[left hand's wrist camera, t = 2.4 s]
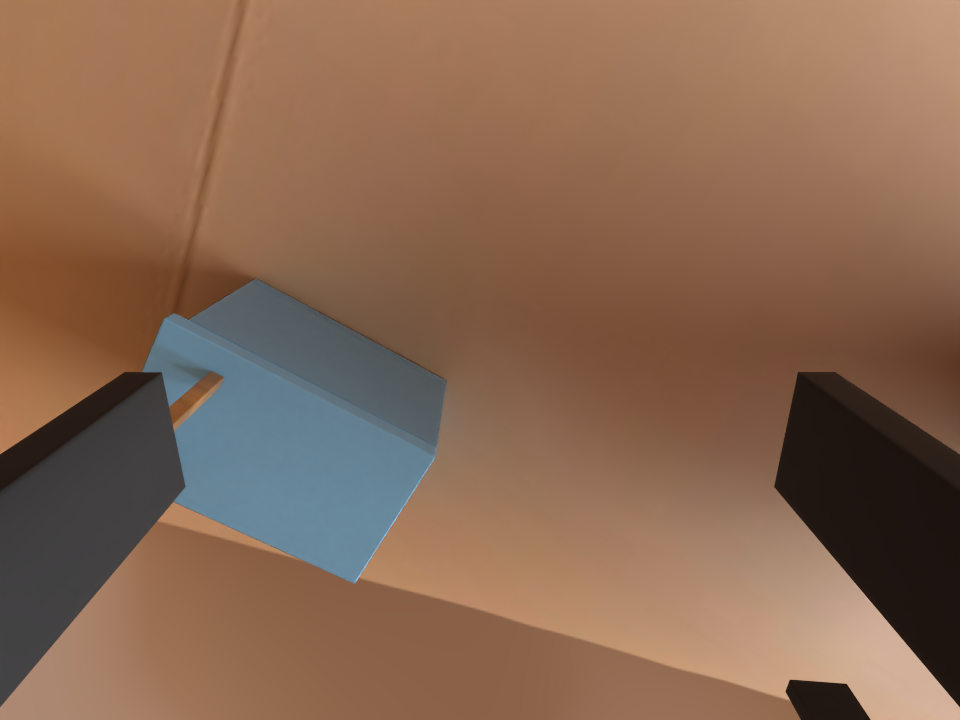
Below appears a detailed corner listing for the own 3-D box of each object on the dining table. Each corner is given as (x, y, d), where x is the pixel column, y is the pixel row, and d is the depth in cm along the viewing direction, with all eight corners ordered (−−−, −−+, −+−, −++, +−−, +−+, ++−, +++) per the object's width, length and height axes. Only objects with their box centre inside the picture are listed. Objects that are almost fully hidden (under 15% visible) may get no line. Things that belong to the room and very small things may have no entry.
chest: (201, 395, 39) (125, 464, 31) (255, 277, 36) (188, 318, 28) (383, 484, 41) (358, 571, 33) (446, 380, 39) (437, 446, 30)
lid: (112, 459, 30) (-23, 575, 22) (174, 311, 28) (46, 383, 20) (357, 571, 33) (317, 712, 25) (437, 447, 30) (421, 560, 22)
